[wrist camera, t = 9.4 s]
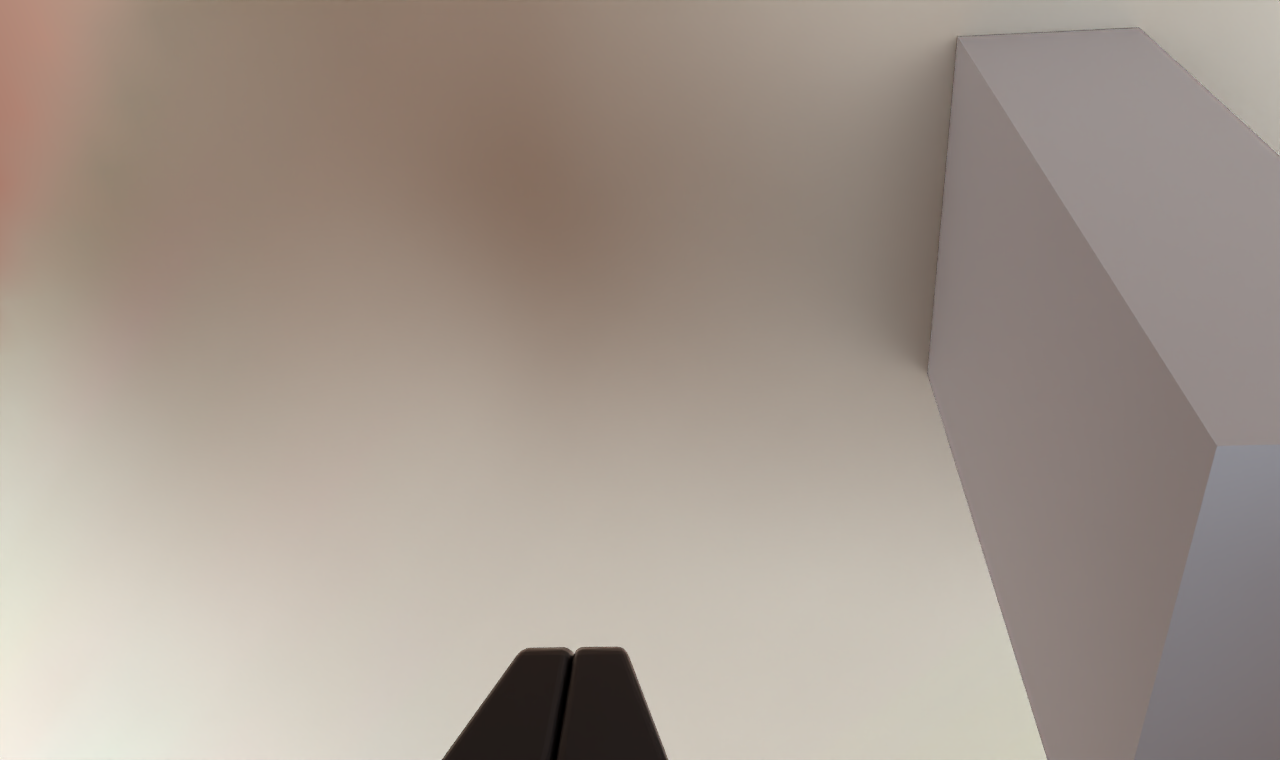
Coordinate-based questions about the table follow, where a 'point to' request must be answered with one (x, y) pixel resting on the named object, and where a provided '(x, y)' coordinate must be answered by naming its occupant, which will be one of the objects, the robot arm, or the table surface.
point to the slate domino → (1117, 389)
